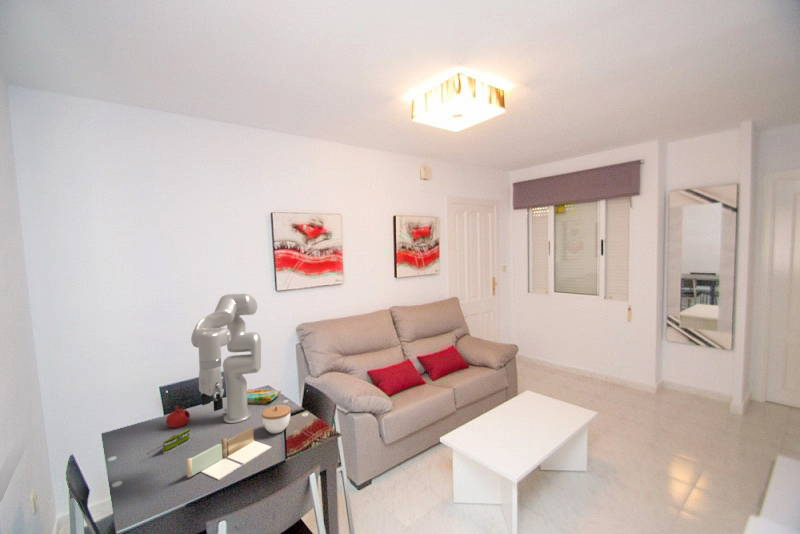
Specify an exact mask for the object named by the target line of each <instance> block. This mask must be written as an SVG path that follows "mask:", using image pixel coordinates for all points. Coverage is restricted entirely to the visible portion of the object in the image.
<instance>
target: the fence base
mask: <svg viewBox="0 0 800 534" xmlns="http://www.w3.org/2000/svg"><path fill="white" fill-rule="evenodd" d="M254 441H255V439H254V427H249V428H248V429H245V430H243V431H242V432H240V433H238V434H236V435H234V436H233V437H230V438H229V439H227V437H222V438H221V442H220V443H221V444H222V458H226V457H227V455H228V456H229V455H231V454H233V453H235V452H236V451H238V450H240V449H242V448H243V447H245V446H247V445H249V444H250V443H252V442H254Z"/></svg>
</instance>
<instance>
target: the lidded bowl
mask: <svg viewBox="0 0 800 534" xmlns="http://www.w3.org/2000/svg"><path fill="white" fill-rule="evenodd" d="M261 418H262V419H261V420H262V424H263V427H264V428H265V430H266V431H268V432H269V434H271V435H272V434H279V433H283V432H284V431H285V430H286V428H287V427H288V425H289V424H290V422H291V421H290V420H291V407H290V406H288V405H285V404H279V405H278V404H276V405H271V406H269V407H267V408H264V410H262V411H261Z"/></svg>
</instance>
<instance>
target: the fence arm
mask: <svg viewBox="0 0 800 534" xmlns="http://www.w3.org/2000/svg"><path fill="white" fill-rule="evenodd" d="M221 459H222V442H219V443H217V444H215V445H214V446H211V447H210V448H208V449H206V450H204V451H201V452H200V453H198V454H196V455H194V456H193V457H188V458H187V459H186V477H187V478H192V477H193V476H195V475H196V474H198V473H201V472H200V471H201V470H203V469H205V468H207V467H209V466H210V465H212V464H214V463H216V462H217V461H219V460H221Z"/></svg>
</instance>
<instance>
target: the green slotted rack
mask: <svg viewBox="0 0 800 534" xmlns="http://www.w3.org/2000/svg"><path fill="white" fill-rule="evenodd" d="M190 433H191V428H187V429H185V430H183V431H182V432H180V433H177V434H175V435H173V436H171V437H169V438H168V439H166V440H165V441H163V442H162V445H161V446H159V447H157V448H155V449H153V450H152V452H154V451H156V450H158V449H159V448H162V451H161V454H162V453H163V454H162V455H165V454H164V453H166V454H168V453H167V452H169V453H171V452H173V451H174V450H177V449H178V448H180V447H181V445H182V446H184V445H185V443H186V444H187V443H188V442H190V439H191V438H190ZM183 444H184V445H183ZM177 445H178V446H177ZM179 446H180V447H179ZM177 447H178V448H177ZM172 450H173V451H172ZM166 451H167V452H166ZM170 451H171V452H170ZM148 454H149V452H147V453H146V455H148Z"/></svg>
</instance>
